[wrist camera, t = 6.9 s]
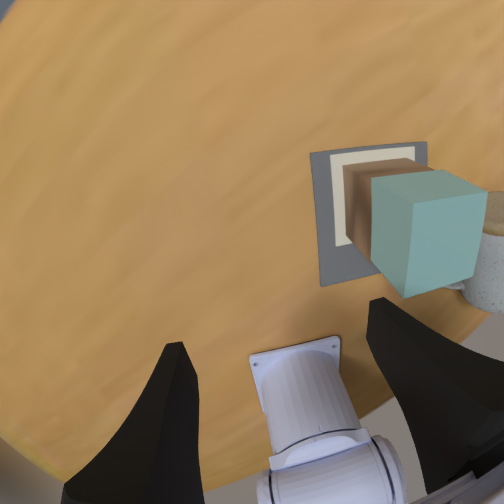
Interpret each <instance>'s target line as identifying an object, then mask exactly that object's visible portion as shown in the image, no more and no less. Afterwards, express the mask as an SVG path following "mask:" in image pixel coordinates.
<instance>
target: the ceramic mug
mask: <svg viewBox="0 0 504 504" xmlns="http://www.w3.org/2000/svg"><path fill="white" fill-rule="evenodd" d="M443 287H444V288H448V289H460V290H461V293H462V295H463V296H464V298H465V299H466V300H467V301H468V302H469V303H470V304H471V305H473V306H474V307H476V308H478V309H480V310H483V311H485V312H490V313H504V192H488V195H487V203H486V211H485V218H484V224H483V230H482V236H481V241H480V246H479V251H478V256H477V261H476V265H475V269H474V274H473V277H470V278H467V279H464V280H461V281H458V282H455V283H452V284H449V285H446V286H443Z"/></svg>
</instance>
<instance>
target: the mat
mask: <svg viewBox="0 0 504 504" xmlns="http://www.w3.org/2000/svg"><path fill="white" fill-rule="evenodd" d="M399 158H408V159H411V160H413V161H415V162H418V163H420V164H422V165H425V166H427V142H411V143H397V144H385V145H374V146H364V147H355V148H346V149H338V150H330V151H322V152H315V153H310V160H311V170H312V179H313V190H314V200H315V212H316V224H317V238H318V253H319V270H320V286H321V287H324V286H328V285H333V284H337V283H341V282H345V281H349V280H353V279H358V278H362V277H366V276H370V275H374V274H378V273H381V272H380V270H379V269H378V268H377V267H376V266H375V264H374V263H369V261H368V260H367V259H366V258H365V257H364V256H363V254H362V253H361V252H360V251H359V250H358V249H357V247H356V246H355V245H354V244H353V243H352V242H351V241H350V239H349V238H348V237H347V236H346V226H345V201H344V183H343V168H342V165H348V164H356V163H364V162H372V161H380V160H389V159H399Z"/></svg>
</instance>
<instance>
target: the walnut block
mask: <svg viewBox="0 0 504 504" xmlns="http://www.w3.org/2000/svg"><path fill="white" fill-rule="evenodd" d="M342 168H343V183H344V201H345V226H346V236H347V237H348V238H349V239H350V241H351V242H352V243H353V244H354V245H355V246H356V247H357V249H358V250H359V251H360V252H361V253H362V254H363V256H364V257H365V258H366V259H367V260H368V261H369V263H373V262H372V261H371V235H372V179H371V178H374V177H382V176H390V175H398V174H406V173H415V172H424V171H434V169H431V168H429V167H427V166H425V165H422V164H420V163H418V162H415V161H413V160H411V159H408V158H399V159H389V160H380V161H372V162H364V163H356V164H348V165H342Z"/></svg>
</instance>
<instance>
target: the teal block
mask: <svg viewBox="0 0 504 504" xmlns="http://www.w3.org/2000/svg"><path fill="white" fill-rule="evenodd" d="M371 179H372V235H371V261H372V262H373V263H374V264H375V266H376V267H377V268H378V269H379V270H380V272H381V273H382V274H383V275H384V276H385V277H386V279H387V280H388V281H389V282H390V283H391V285H392V286H393V287H394V288H395V290H396V291H397V292H398V293H399V294H400V296H401V297H402V298H403V299H405V298H408V297H412V296H415V295H418V294H422V293H425V292H428V291H431V290H434V289H437V288H440V287H443V286H446V285H449V284H452V283H455V282H458V281H461V280H464V279H467V278H470V277H473V274H474V269H475V265H476V261H477V256H478V251H479V246H480V241H481V236H482V230H483V224H484V218H485V211H486V203H487V195H488V192H487V191H485V190H483V189H481V188H480V187H478V186H476V185H474V184H472V183H470V182H467V181H465V180H463V179H461V178H459V177H457V176H455V175H453V174H451V173H448V172H446V171H444V170H434V171H424V172H415V173H406V174H398V175H390V176H382V177H374V178H371Z"/></svg>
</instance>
